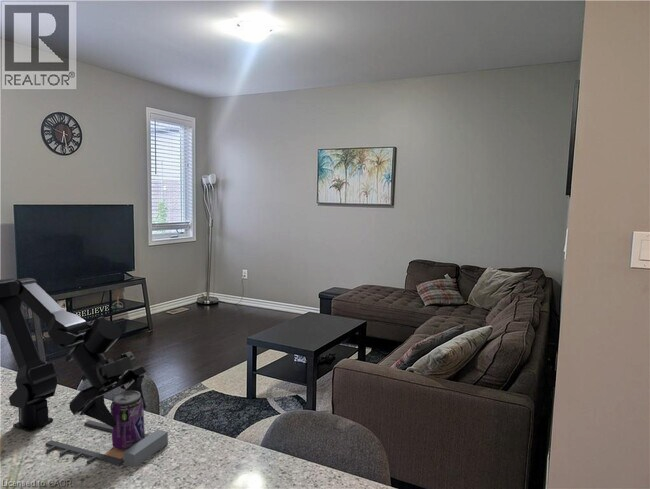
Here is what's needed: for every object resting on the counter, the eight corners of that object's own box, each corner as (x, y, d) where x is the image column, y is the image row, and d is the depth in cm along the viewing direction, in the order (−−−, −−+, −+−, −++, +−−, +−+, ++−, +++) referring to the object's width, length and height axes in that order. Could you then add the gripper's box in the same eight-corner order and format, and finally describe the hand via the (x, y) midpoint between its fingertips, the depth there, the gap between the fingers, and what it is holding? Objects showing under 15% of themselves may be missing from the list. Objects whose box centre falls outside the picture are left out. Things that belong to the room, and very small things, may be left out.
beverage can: (132, 454, 105) (130, 405, 103) (105, 450, 107) (102, 401, 105) (151, 437, 112) (148, 391, 110) (125, 433, 113) (123, 388, 112)
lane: (38, 449, 106) (37, 437, 106) (89, 422, 120) (89, 411, 119) (125, 474, 98) (125, 461, 97) (169, 442, 111) (169, 430, 111)
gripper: (78, 356, 98) (119, 415, 96) (140, 334, 116) (176, 383, 113) (51, 385, 102) (90, 443, 99) (116, 359, 119) (150, 408, 116)
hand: (130, 417), depth 107 cm, fingers open, 9 cm apart
